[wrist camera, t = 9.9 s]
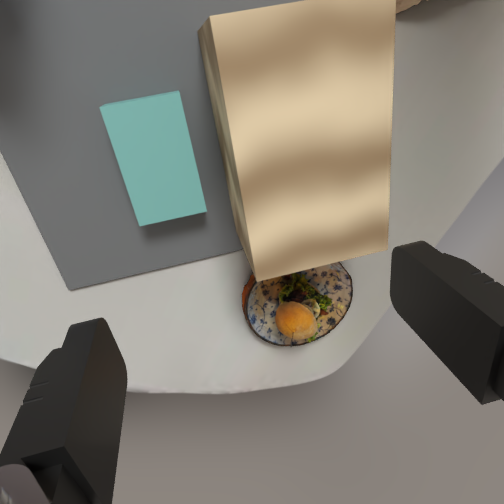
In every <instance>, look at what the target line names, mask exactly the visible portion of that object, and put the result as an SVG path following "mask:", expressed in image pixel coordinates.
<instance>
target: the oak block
mask: <svg viewBox="0 0 504 504" xmlns="http://www.w3.org/2000/svg"><path fill="white" fill-rule="evenodd" d="M395 13H396V0H304V1H298V2H292V3H286V4H279V5H273V6H267V7H261V8H255V9H249V10H243V11H237V12H231V13H225V14H219V15H213V16H209V17H208V19H207V20H206V21H205V22H204V24H203V25H202V26H201V27H200V29H199V30H198V31H197V33H198V38H199V43H200V48H201V53H202V58H203V63H204V68H205V74H206V79H207V84H208V89H209V94H210V99H211V104H212V109H213V115H214V120H215V125H216V130H217V135H218V140H219V145H220V150H221V156H222V161H223V166H224V171H225V176H226V181H227V186H228V191H229V196H230V202H231V207H232V212H233V217H234V222H235V227H236V232H237V234H238V237H239V239H240V242H241V244H242V246H243V249H244V251H245V254H246V256H247V259H248V261H249V264H250V266H251V269H252V271H253V273H254V276H255V278H256V281H257V282H258V281H262V280H266V279H271V278H275V277H279V276H283V275H287V274H291V273H295V272H299V271H303V270H307V269H311V268H315V267H319V266H323V265H327V264H331V263H335V262H339V261H343V260H348V259H352V258H356V257H360V256H364V255H368V254H372V253H376V252H380V251H384V250H388V226H389V196H390V165H391V135H392V104H393V74H394V43H395Z"/></svg>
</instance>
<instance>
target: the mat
mask: <svg viewBox="0 0 504 504" xmlns="http://www.w3.org/2000/svg"><path fill="white" fill-rule="evenodd" d="M298 1H304V0H0V151H1V153H2V155H3V157H4V159H5V161H6V163H7V165H8V167H9V169H10V171H11V173H12V176H13V178H14V180H15V182H16V184H17V186H18V188H19V190H20V192H21V194H22V196H23V198H24V200H25V202H26V204H27V206H28V208H29V210H30V212H31V214H32V216H33V218H34V220H35V222H36V225H37V227H38V229H39V231H40V233H41V235H42V237H43V239H44V241H45V243H46V245H47V247H48V249H49V251H50V253H51V255H52V257H53V259H54V261H55V263H56V265H57V267H58V269H59V271H60V273H61V276H62V278H63V280H64V282H65V284H66V286H67V288H68V290H72V289H76V288H81V287H85V286H89V285H93V284H98V283H102V282H106V281H110V280H115V279H119V278H123V277H127V276H132V275H136V274H140V273H144V272H149V271H153V270H157V269H161V268H166V267H170V266H174V265H178V264H182V263H187V262H191V261H195V260H199V259H204V258H208V257H212V256H216V255H221V254H225V253H229V252H233V251H238V250H242V249H243V246H242V244H241V242H240V239H239V237H238V234H237V232H236V227H235V222H234V217H233V212H232V207H231V202H230V196H229V191H228V186H227V181H226V176H225V171H224V166H223V161H222V156H221V150H220V145H219V140H218V135H217V130H216V125H215V120H214V115H213V109H212V104H211V99H210V94H209V89H208V84H207V79H206V74H205V68H204V63H203V58H202V53H201V48H200V43H199V38H198V33H197V31H198V30H199V29H200V27H201V26H202V25H203V24H204V22H205V21H206V20H207V19H208V17H209V16H213V15H219V14H225V13H231V12H237V11H243V10H249V9H255V8H261V7H267V6H273V5H279V4H286V3H292V2H298ZM173 91H179V92H180V97H181V101H182V105H183V110H184V114H185V118H186V123H187V127H188V131H189V136H190V140H191V144H192V148H193V153H194V157H195V161H196V166H197V170H198V174H199V179H200V183H201V187H202V192H203V196H204V200H205V205H206V209H207V212H202V213H198V214H193V215H189V216H184V217H180V218H175V219H171V220H166V221H162V222H157V223H153V224H148V225H144V226H139V223H138V220H137V217H136V214H135V211H134V208H133V206H132V203H131V200H130V197H129V194H128V191H127V188H126V185H125V182H124V179H123V176H122V173H121V170H120V167H119V164H118V161H117V158H116V155H115V152H114V149H113V146H112V143H111V140H110V137H109V134H108V131H107V129H106V126H105V123H104V120H103V117H102V114H101V111H100V108H99V107H101V106H102V105H104V104H108V103H113V102H119V101H124V100H130V99H135V98H141V97H146V96H151V95H157V94H162V93H168V92H173Z"/></svg>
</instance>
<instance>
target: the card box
mask: <svg viewBox="0 0 504 504" xmlns="http://www.w3.org/2000/svg"><path fill="white" fill-rule="evenodd" d="M99 108H100V111H101V114H102V117H103V120H104V123H105V126H106V129H107V131H108V134H109V137H110V140H111V143H112V146H113V149H114V152H115V155H116V158H117V161H118V164H119V167H120V170H121V173H122V176H123V179H124V182H125V185H126V188H127V191H128V194H129V197H130V200H131V203H132V206H133V208H134V211H135V214H136V217H137V220H138V223H139V226H144V225H148V224H153V223H157V222H162V221H166V220H171V219H175V218H180V217H184V216H189V215H193V214H198V213H202V212H207V209H206V205H205V200H204V196H203V192H202V187H201V183H200V179H199V174H198V170H197V166H196V161H195V157H194V153H193V148H192V144H191V140H190V136H189V131H188V127H187V123H186V118H185V114H184V110H183V105H182V101H181V97H180V92H179V91H173V92H168V93H162V94H157V95H151V96H146V97H141V98H135V99H130V100H124V101H119V102H113V103H108V104H104V105H102V106H101V107H99Z"/></svg>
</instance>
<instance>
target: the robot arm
mask: <svg viewBox="0 0 504 504" xmlns="http://www.w3.org/2000/svg"><path fill="white" fill-rule="evenodd" d="M390 297H391V301H392V304H393V306H394V308H395V310H396V311H397V313H398V314H399V315H400V316H401V317H402V318H403V319H404V321H406V323H407V324H408V325H409V326H410V327H411V328H412V329H413V330H414V331H415V332H416V334H418V336H419V337H420V338H421V339H422V340H423V341H424V342H425V343H426V344H427V346H428V347H429V348H430V349H431V350H432V351H433V352H434V353H435V354H436V355H437V357H438V358H439V359H440V360H441V361H442V362H443V363H444V364H445V365H446V366H447V367H448V368H449V370H450V371H451V372H452V373H453V374H454V375H455V376H456V377H457V378H458V379H459V380H460V382H461V383H462V384H463V385H464V386H465V387H466V388H467V389H468V390H469V391H470V393H471V394H472V395H473V396H474V397H475V398H476V399H477V400H478V401H479V402H480V403H481V404H482V405H483V404H486V403H490V402H493V401H496V400H500V399H502V400H503V401H504V286H503V285H501V284H500V283H498V282H494V279H492V278H490V277H489V276H488V275H486V274H485V273H481V271H480V270H479V269H477V268H476V267H474V266H473V265H471V264H470V263H468V262H467V261H465V260H462V259H460V258H457V257H454V256H451V255H448V254H446V253H443V254H442V253H441V252H439V251H438V250H437V249H435V248H434V247H432V246H431V245H429V244H428V243H426V242H425V241H418V242H414V243H410V244H405V245H401V246H397V247H395V248H394V249H393V251H392V260H391V280H390ZM126 389H127V370H126V365H125V362H124V359H123V357H122V355H121V352H120V350H119V348H118V346H117V344H116V341H115V339H114V337H113V335H112V332H111V330H110V328H109V326H108V324H107V322H106V320H105V319H104V318H97V319H93V320H89V321H85V322H81V323H77V324H73V325H71V326H70V327H69V329H68V332H67V335H66V337H65V340H64V343H63V345H62V348H58V349H54V350H52V351H51V352H50V354H49V355H48V356H47V357H46V358H45V359H44V361H43V362H42V363H41V364H40V365H39V366H38V367H37V370H36V372H35V374H34V377H33V379H32V381H31V384H30V389H29V390H28V391H27V393H26V395H25V398H24V400H23V405H22V406H21V407H20V409H19V412H18V414H17V416H16V419H15V421H14V423H13V426H12V428H11V430H10V433H9V435H8V437H7V440H6V442H5V444H4V447H3V449H2V451H1V454H0V504H112V498H113V490H114V483H115V475H116V467H117V459H118V452H119V443H120V436H121V427H122V420H123V413H124V405H125V397H126Z"/></svg>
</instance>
